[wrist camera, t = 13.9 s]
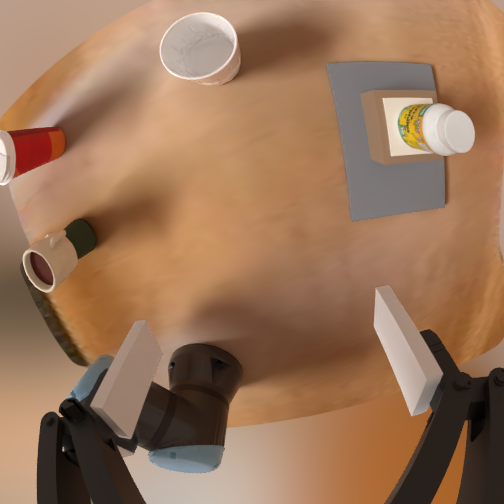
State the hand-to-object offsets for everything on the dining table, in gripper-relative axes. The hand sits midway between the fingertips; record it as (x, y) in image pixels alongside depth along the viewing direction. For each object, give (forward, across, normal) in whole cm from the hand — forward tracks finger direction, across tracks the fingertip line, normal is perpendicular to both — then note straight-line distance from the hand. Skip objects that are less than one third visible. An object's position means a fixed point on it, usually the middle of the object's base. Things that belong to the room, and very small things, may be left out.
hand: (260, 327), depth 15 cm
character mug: (+27, +31, -1) cm, 41 cm away
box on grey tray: (+25, -20, -7) cm, 33 cm away
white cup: (+26, +2, -20) cm, 33 cm away
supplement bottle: (+19, -20, -9) cm, 29 cm away
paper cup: (+26, +31, -18) cm, 45 cm away
